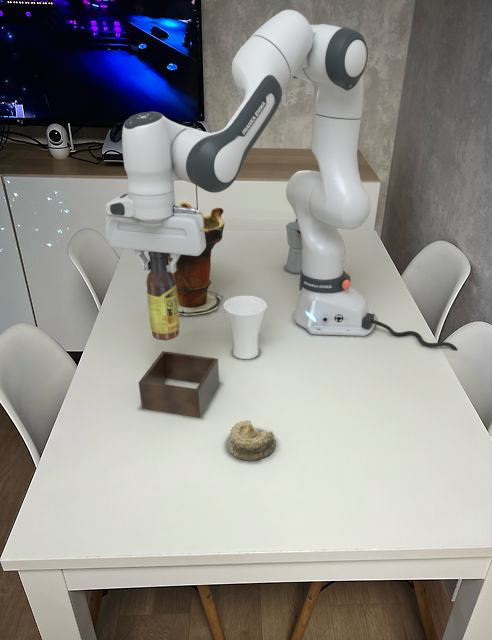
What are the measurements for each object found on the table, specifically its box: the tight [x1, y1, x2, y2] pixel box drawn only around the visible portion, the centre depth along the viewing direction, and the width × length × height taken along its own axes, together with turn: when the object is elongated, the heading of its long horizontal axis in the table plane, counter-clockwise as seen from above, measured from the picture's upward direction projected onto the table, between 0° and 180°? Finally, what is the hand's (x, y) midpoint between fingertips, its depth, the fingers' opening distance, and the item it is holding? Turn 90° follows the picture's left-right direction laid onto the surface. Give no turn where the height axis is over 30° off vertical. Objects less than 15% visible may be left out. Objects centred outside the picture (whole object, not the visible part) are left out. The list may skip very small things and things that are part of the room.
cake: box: [226, 419, 277, 462], centre depth 123 cm, size 10×10×5 cm
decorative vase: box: [168, 201, 225, 317], centre depth 171 cm, size 21×23×28 cm
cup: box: [223, 295, 268, 360], centre depth 151 cm, size 10×10×14 cm
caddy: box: [138, 350, 220, 418], centre depth 137 cm, size 14×14×7 cm
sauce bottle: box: [146, 251, 180, 341], centre depth 129 cm, size 7×6×20 cm
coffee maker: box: [285, 218, 302, 275], centre depth 196 cm, size 15×9×18 cm, turn 179°
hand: (159, 270), depth 126 cm, fingers closed on sauce bottle, 4 cm apart
